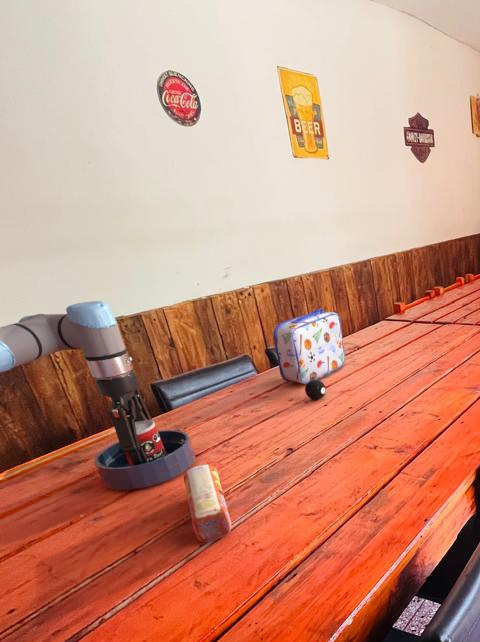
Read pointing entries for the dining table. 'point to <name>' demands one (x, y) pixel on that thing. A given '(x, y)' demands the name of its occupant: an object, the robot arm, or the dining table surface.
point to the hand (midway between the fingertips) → (149, 464)
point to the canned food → (148, 441)
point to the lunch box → (309, 346)
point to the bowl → (128, 477)
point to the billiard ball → (315, 389)
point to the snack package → (207, 503)
